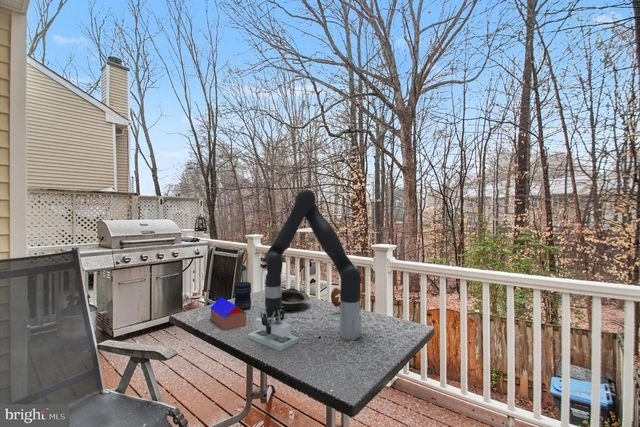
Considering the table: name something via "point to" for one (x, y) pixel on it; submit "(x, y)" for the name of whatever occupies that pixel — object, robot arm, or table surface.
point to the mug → (333, 298)
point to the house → (227, 314)
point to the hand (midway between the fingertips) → (273, 331)
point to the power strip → (275, 329)
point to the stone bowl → (293, 299)
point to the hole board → (273, 340)
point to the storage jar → (243, 295)
